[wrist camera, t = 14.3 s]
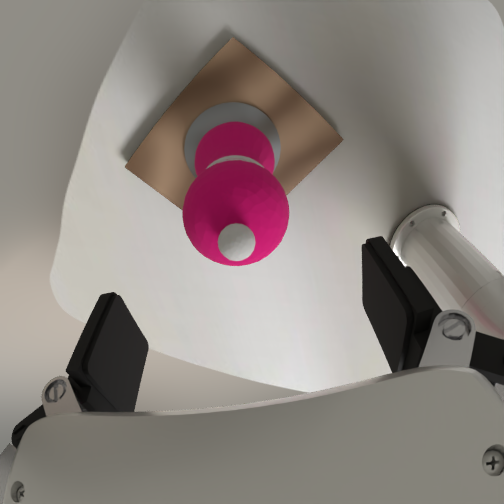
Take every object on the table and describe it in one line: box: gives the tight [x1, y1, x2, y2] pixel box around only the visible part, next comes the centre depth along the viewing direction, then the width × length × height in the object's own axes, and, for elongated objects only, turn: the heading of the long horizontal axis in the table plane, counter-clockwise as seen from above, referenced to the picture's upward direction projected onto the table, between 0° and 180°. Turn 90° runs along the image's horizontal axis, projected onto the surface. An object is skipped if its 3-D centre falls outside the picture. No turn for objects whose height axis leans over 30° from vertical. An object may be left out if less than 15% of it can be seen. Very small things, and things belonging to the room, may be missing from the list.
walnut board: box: [125, 37, 344, 210], centre depth 32 cm, size 16×18×2 cm
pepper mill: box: [183, 122, 289, 266], centre depth 23 cm, size 7×7×20 cm
